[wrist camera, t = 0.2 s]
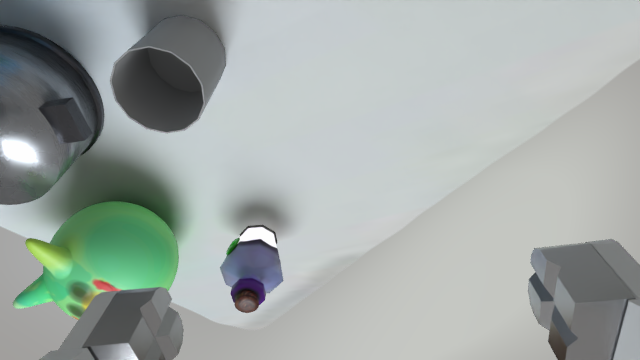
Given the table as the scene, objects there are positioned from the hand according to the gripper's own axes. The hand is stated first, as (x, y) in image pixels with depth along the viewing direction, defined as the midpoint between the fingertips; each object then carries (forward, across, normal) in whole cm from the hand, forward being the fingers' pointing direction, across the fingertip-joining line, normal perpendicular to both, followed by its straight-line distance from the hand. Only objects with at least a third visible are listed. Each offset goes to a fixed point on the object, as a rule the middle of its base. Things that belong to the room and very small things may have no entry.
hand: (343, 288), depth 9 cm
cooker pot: (+39, +37, +3) cm, 54 cm away
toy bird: (+42, +34, +24) cm, 59 cm away
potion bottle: (+42, +16, +29) cm, 54 cm away
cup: (+40, +17, +1) cm, 43 cm away
